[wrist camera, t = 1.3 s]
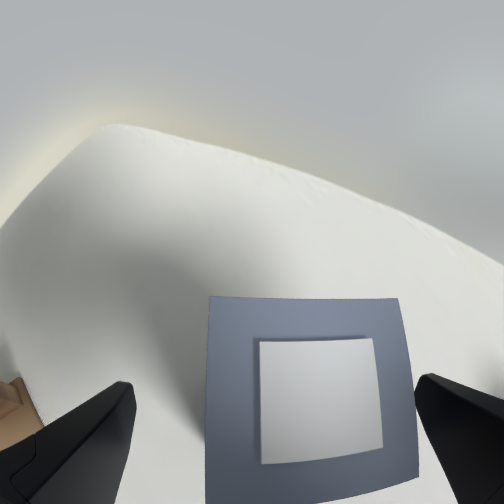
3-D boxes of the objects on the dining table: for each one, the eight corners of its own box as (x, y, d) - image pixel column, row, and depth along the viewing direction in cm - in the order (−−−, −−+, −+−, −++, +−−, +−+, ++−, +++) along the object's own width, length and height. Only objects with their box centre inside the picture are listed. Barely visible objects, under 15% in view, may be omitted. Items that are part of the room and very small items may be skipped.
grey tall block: (300, 452, 13) (422, 477, 4) (215, 455, 12) (205, 510, 4) (297, 377, 15) (401, 295, 6) (216, 377, 15) (209, 292, 6)
